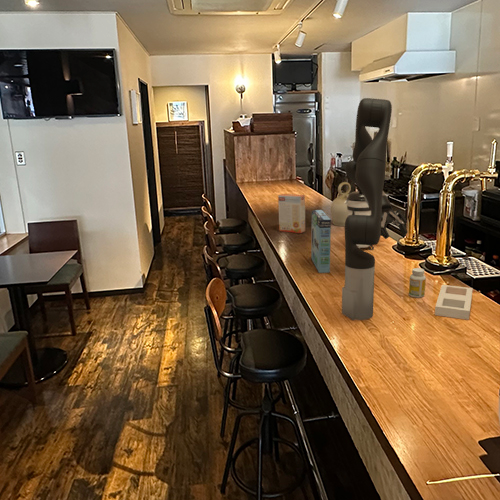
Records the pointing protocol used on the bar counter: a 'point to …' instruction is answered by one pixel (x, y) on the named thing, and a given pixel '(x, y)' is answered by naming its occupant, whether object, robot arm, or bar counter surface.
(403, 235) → the robot arm
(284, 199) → the cracker box
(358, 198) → the coffee press
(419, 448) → the bar counter surface
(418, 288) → the supplement bottle
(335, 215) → the jug
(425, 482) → the bar counter surface
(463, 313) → the bottle caddy
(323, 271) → the gum box
